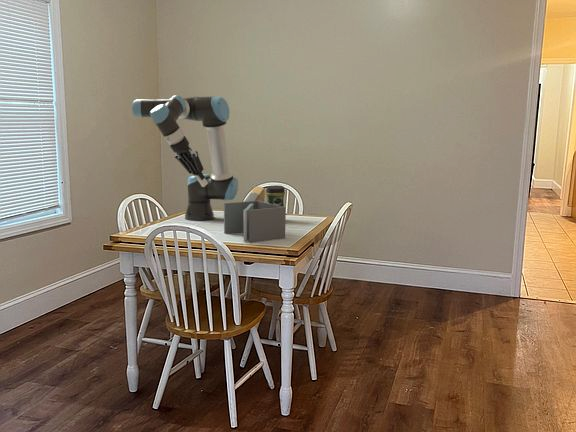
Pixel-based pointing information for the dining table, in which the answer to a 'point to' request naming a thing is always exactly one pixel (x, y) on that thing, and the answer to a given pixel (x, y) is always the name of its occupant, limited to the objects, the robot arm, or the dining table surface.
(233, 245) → the dining table surface
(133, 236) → the dining table surface
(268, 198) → the coffee jar
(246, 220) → the side door
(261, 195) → the sandwich container
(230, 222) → the charcoal box
